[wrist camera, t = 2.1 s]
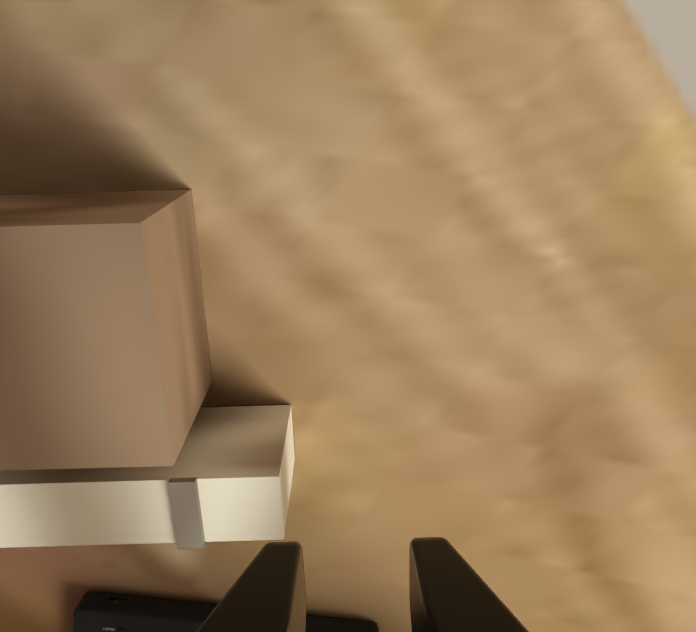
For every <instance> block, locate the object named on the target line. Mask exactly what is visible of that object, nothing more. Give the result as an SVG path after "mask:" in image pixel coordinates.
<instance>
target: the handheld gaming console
mask: <svg viewBox="0 0 696 632" xmlns="http://www.w3.org/2000/svg"><path fill="white" fill-rule="evenodd" d="M216 606H217V605H209V604H199V603H190V602H181V601H172V600H162V599H153V598H144V597H135V596H125V595H116V594H107V593H96V592H87V593H86V594H85V595H84V596H83V598H82V600H81V601H80V603H79V604H78V606H77V608H76V610H75V612H74V632H196V631H197V630H198V629H199V627H200V626H201V625H202V624H203V622H204V621H205V620H206V619H207V617H208V616H209V615H210V614H211V612H212V611H213V610H214V609H215V607H216ZM305 632H379V629H378V625H377V624H376V623H373V622H364V621H355V620H346V619H337V618H328V617H319V616H310V615H306V631H305Z"/></svg>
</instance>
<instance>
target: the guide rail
mask: <svg viewBox="0 0 696 632" xmlns="http://www.w3.org/2000/svg"><path fill="white" fill-rule="evenodd" d="M294 461H295V455H294V440H293V425H292V411H291V405H270V406H237V407H204V408H200V409H199V411H198V413H197V415H196V418H195V420H194V422H193V424H192V426H191V429H190V431H189V433H188V435H187V437H186V440H185V442H184V444H183V446H182V448H181V451H180V453H179V455H178V457H177V460H176V462H175V464H174V466H153V467H116V468H78V469H40V470H3V471H0V548H9V547H43V546H78V545H112V544H146V543H177V547H178V549H197V548H204V546H205V542H215V541H249V540H284V535H285V528H286V520H287V513H288V505H289V498H290V491H291V483H292V476H293V468H294Z"/></svg>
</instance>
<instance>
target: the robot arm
mask: <svg viewBox="0 0 696 632" xmlns="http://www.w3.org/2000/svg"><path fill="white" fill-rule="evenodd" d="M410 612H411V623H412V632H529V631H528V630H527V629H526V628H525V627H524V626H523V625H522V624H521V622H520V621H519V620H518V619H517V618H516V617H515V616H514V615H513V613H512V612H511V611H510V610H509V609H508V608H507V607H506V606H505V605H504V603H503V602H502V601H501V600H500V599H499V598H498V597H497V596H496V594H495V593H494V592H493V591H492V590H491V589H490V588H489V587H488V585H487V584H486V583H485V582H484V581H483V580H482V579H481V578H480V576H479V575H478V574H477V573H476V572H475V571H474V570H473V569H472V567H471V566H470V565H469V564H468V563H467V562H466V561H465V560H464V559H463V557H462V556H461V555H460V554H459V553H458V552H457V551H456V550H455V548H454V547H453V546H452V545H451V544H450V543H449V542H448V541H447V540H446V539H444V538H442V537H425V538H414V539H412V541H411V542H410ZM305 631H306V592H305V578H304V563H303V551H302V546H301V544H300V543H299V542H296V541H294V542H271V543H268V544H266V545H265V546H264V547H263V548H262V550H261V551H260V552H259V553H258V555H257V556H256V557H255V558H254V560H253V561H252V562H251V563H250V565H249V566H248V567H247V568H246V570H245V571H244V572H243V573H242V575H241V576H240V577H239V578H238V580H237V581H236V582H235V583H234V585H233V586H232V587H231V588H230V590H229V591H228V592H227V593H226V595H225V596H224V597H223V599H222V600H221V601H220V602H219V604H218V605H217V606H216V607H215V609H214V610H213V611H212V612H211V614H210V615H209V616H208V617H207V619H206V620H205V621H204V622H203V624H202V625H201V626H200V627H199V629H198V630H197V631H196V632H305Z"/></svg>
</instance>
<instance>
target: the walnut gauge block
mask: <svg viewBox="0 0 696 632" xmlns="http://www.w3.org/2000/svg"><path fill="white" fill-rule="evenodd" d="M211 382H212V372H211V363H210V354H209V345H208V335H207V326H206V317H205V308H204V299H203V289H202V280H201V271H200V262H199V252H198V243H197V234H196V225H195V216H194V206H193V197H192V189H185V190H148V191H111V192H75V193H38V194H1V195H0V471H3V470H40V469H78V468H116V467H153V466H174V464H175V462H176V460H177V457H178V455H179V453H180V451H181V448H182V446H183V444H184V442H185V440H186V437H187V435H188V433H189V431H190V429H191V426H192V424H193V422H194V420H195V418H196V415H197V413H198V411H199V409H200V406H201V404H202V402H203V400H204V398H205V395H206V393H207V391H208V389H209V387H210V384H211Z"/></svg>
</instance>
